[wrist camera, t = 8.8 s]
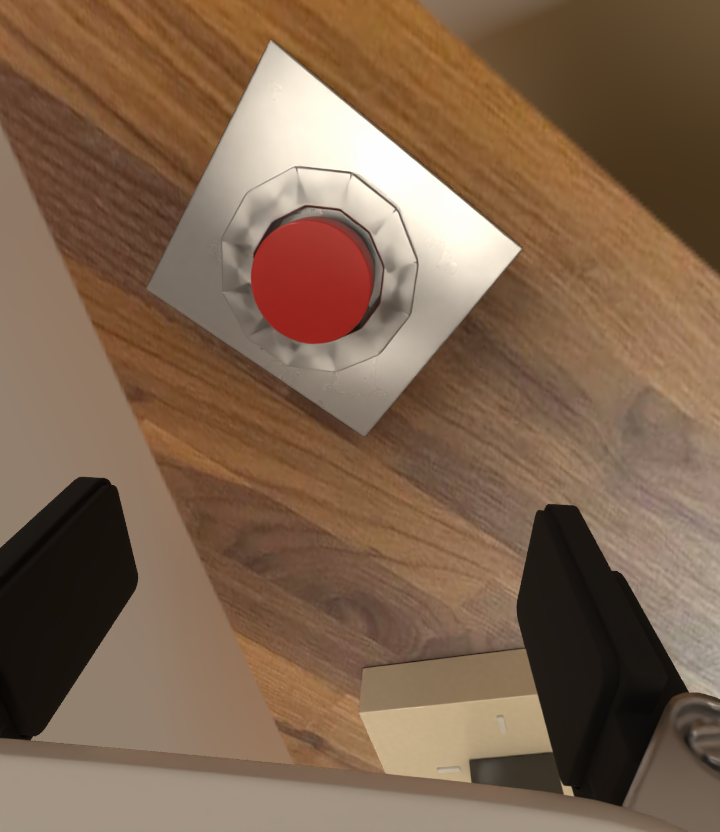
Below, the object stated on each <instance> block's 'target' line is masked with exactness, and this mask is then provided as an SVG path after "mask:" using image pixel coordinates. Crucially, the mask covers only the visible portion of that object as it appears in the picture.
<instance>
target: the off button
mask: <svg viewBox="0 0 720 832" xmlns="http://www.w3.org/2000/svg"><path fill="white" fill-rule="evenodd" d="M374 280H375V274H374V266H373V261H372V258H371V255H370V252H369V250H368V248H367V246H366V245H365V243H364V242H363V240H362V239H361V238H360V237H359V236H358V234H357V233H356V232H354V231H353V230H352V229H351V228H350V227H348V226H347V225H345V224H343V223H341V222H339V221H337V220H334V219H331V218H327V217H320V216H312V217H305V218H301V219H298V220H295V221H292V222H289V223H287V224H284V225H282V226H280V227H279V228H277V229H275V230H274V231H273V232H272V233H270V234H269V235H268V236H267V237H266V238H265V240H264V241H263V242H262V244H261V245H260V247H259V248H258V250H257V252H256V254H255V257H254V260H253V264H252V269H251V287H252V292H253V296H254V299H255V302H256V304H257V307H258V309H259V311H260V312H261V314H262V315H263V317H264V318H265V319H266V321H267V322H268V323H269V324H270V325H271V326H272V327H273V328H274V329H275V330H277V331H278V332H279V333H281V334H282V335H284V336H286V337H288V338H290V339H292V340H295V341H298V342H302V343H307V344H323V343H328V342H332V341H335V340H337V339H339V338H341V337H343V336H345V335H346V334H348V333H349V332H350V331H352V330H353V329H354V328H355V327H356V326H357V325H358V323H359V322H360V321H361V319H362V318H363V316H364V315H365V312H366V310H367V308H368V305H369V302H370V299H371V296H372V292H373V288H374Z"/></svg>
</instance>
